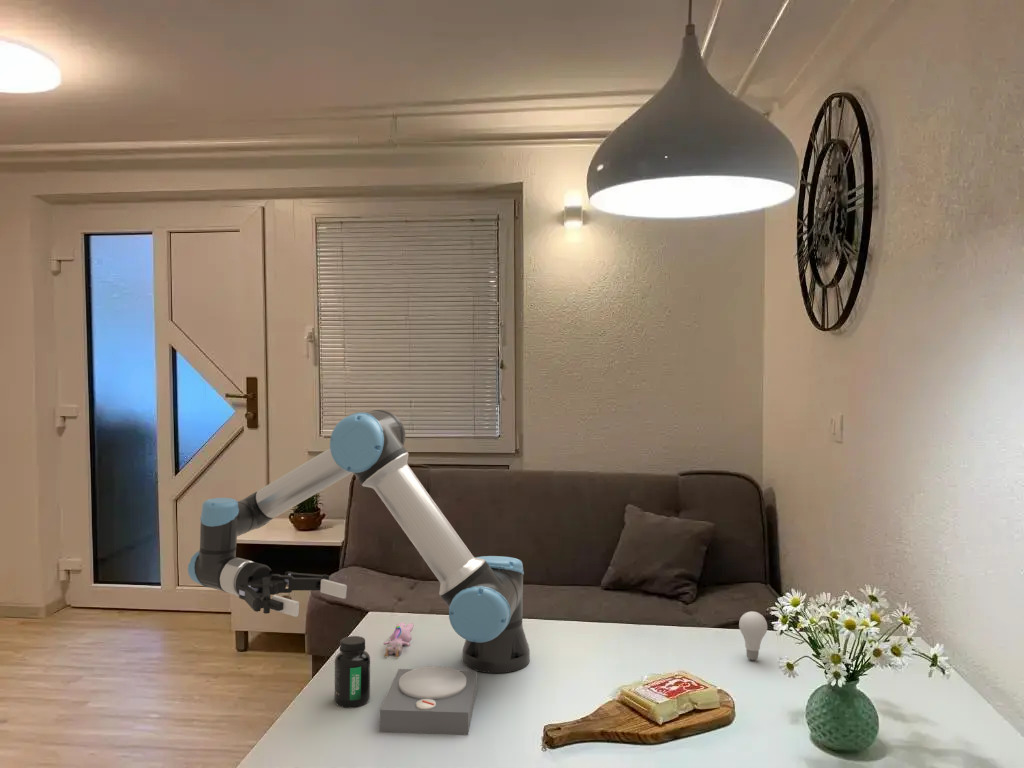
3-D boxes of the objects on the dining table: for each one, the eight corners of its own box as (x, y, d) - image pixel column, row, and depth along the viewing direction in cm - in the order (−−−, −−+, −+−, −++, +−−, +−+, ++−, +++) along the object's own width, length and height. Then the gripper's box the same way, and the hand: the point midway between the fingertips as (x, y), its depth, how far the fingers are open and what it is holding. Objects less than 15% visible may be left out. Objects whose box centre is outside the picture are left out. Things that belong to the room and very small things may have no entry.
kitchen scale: (398, 688, 154) (398, 664, 154) (476, 690, 154) (476, 666, 154) (379, 731, 136) (379, 704, 136) (468, 734, 136) (468, 707, 136)
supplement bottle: (362, 709, 145) (362, 648, 144) (328, 706, 146) (329, 645, 145) (374, 694, 151) (375, 635, 151) (342, 691, 153) (342, 632, 152)
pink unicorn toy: (405, 664, 170) (420, 630, 184) (404, 640, 169) (419, 608, 183) (378, 663, 170) (395, 629, 185) (377, 639, 169) (394, 606, 184)
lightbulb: (750, 652, 176) (751, 606, 175) (772, 661, 171) (773, 613, 170) (732, 658, 172) (733, 610, 172) (754, 667, 167) (755, 618, 167)
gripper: (290, 582, 173) (362, 602, 163) (197, 612, 151) (274, 637, 141) (291, 550, 173) (364, 568, 162) (199, 575, 151) (276, 597, 140)
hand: (322, 600), depth 152 cm, fingers open, 13 cm apart
